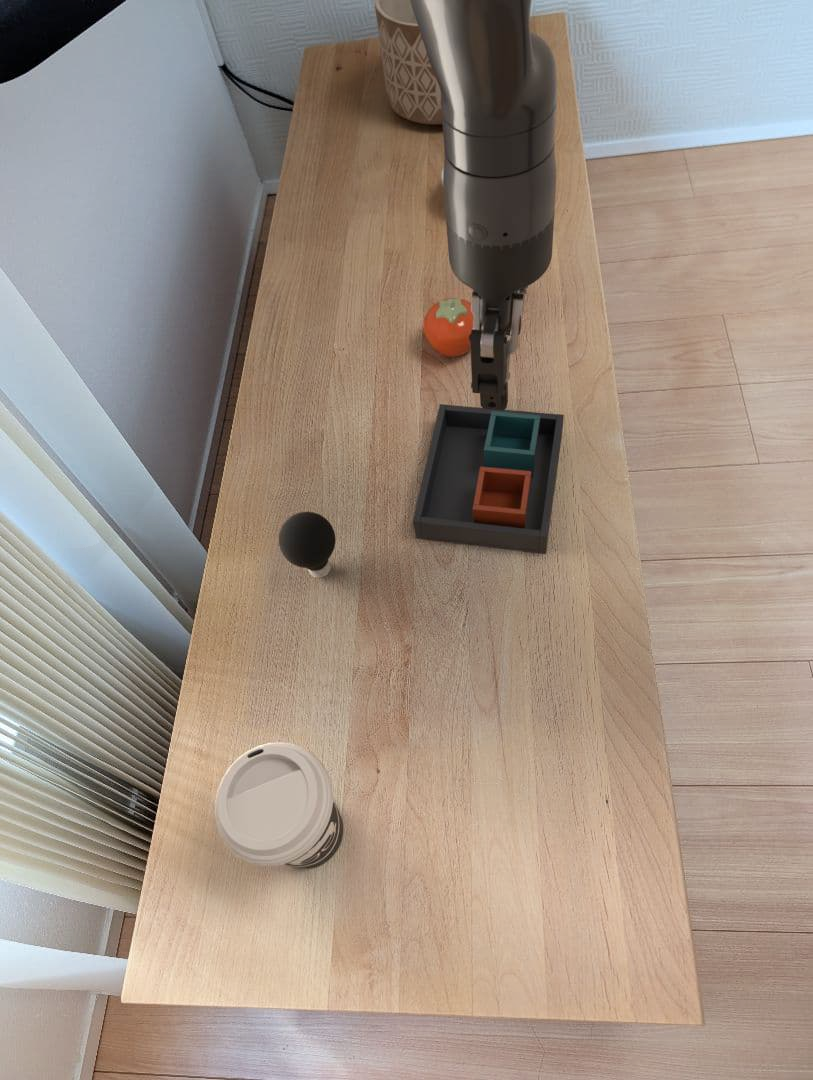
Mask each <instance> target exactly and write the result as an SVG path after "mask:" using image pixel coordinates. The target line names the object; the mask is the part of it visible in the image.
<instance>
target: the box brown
mask: <svg viewBox="0 0 813 1080" xmlns="http://www.w3.org/2000/svg"><path fill="white" fill-rule="evenodd" d="M530 491H531V471H523V470H512V469H501V468H490V467H480V471H479V476H478V482H477V488H476V493H475V499H474V505H473V520H474V523H481V524H489V525H498V526H507V527H515V528H524V529H526V522H527V515H528V508H529V500H530Z"/></svg>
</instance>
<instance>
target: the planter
mask: <svg viewBox="0 0 813 1080" xmlns="http://www.w3.org/2000/svg"><path fill="white" fill-rule="evenodd" d="M373 3H374V10H375V11H374V12H375V17H376V24H377V25H376V26H377V33H378V39H379V46H380V54H381V63H382V70H383V77H384V84H385V85H384V86H385V93H386V99H387V102H388V104H389V106H390V108H391V109H392V110H393V112H395V113H396V114H397V115H398V116H399V117H402V118H403V119H406V120H408V121H410V122H414V123H418V124H423V125H434V126H435V125H436V126H437V125H443V124H442V111H441V91H440V87H439V84H438V82H437V79H436V77H435V74H434V72H433V69H432V67H431V64H430V61H429V58H428V55H427V52H426V49H425V46H424V42H423V39H422V36H421V33H420V30H419V27H418V24H417V21H416V18H415V15H414V12H413V8H412V5H411V1H410V0H373Z"/></svg>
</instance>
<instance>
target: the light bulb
mask: <svg viewBox="0 0 813 1080" xmlns="http://www.w3.org/2000/svg"><path fill="white" fill-rule="evenodd" d="M278 534H279V535H278V546H279V550H280V552H281V555H283V557H284V558H285V559H286V561H288V562H289V563H290V564H292V565H294V566H296V567H299V568H303V569H305V568H306V569H307V571H308V573H309V575H311V576H312V577H313V578H317V579H319V578H323V577H325V576H327V575H328V574H329V573H330V570H331V563H330V560H329V559H330V557H331V556H332V554H333V553H334V550H335V548H336V532H335V530H334V528H333V525H332V523H331V522H330V521H329V520H328V519H327V518H326V517H324V516H323V515H321V514H319V513H317V512H313V511H302V512H297V513H295V514H292V515H291V516H289V518H287V519H286V520H285V521H284V523H283V525H282V526H281V528H280V531H279V533H278Z"/></svg>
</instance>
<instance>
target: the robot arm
mask: <svg viewBox="0 0 813 1080" xmlns="http://www.w3.org/2000/svg"><path fill="white" fill-rule="evenodd" d="M410 1H411V5H412V8H413V12H414V15H415V18H416V21H417V24H418V27H419V30H420V33H421V36H422V39H423V42H424V46H425V49H426V52H427V55H428V58H429V61H430V64H431V67H432V69H433V72H434V74H435V77H436V79H437V82H438V84H439V87H440V91H441V111H442V124H441V125H442V135H443V148H444V149H443V153H444V155H443V156H444V158H443V160H444V161H443V167H444V172H443V186H442V188H443V199H444V211H445V212H444V213H445V225H446V237H447V249H448V250H447V251H448V261H449V266H450V269H451V271H452V273H453V275H454V276H455V277H456V278H457V279H458V280H459V281H460V282H461V283H462V284H464V285H465V286H466V287H468V288H470V289H471V290H472V293H471V302H470V303H471V311H472V313H473V315H474V321H473V329H472V331H471V334H470V335H469V341H470V348H471V349H470V367H471V368H470V369H471V371H470V372H471V383H470V384H471V385H470V389H471V392H472V394H479V402H480V403H479V404H480V408H484V409H491V410H507V408H508V403H509V380H510V379H511V378H510V377H511V372H510V364H511V363H510V361H511V356H512V355H513V354H514V353H516V351H517V349H518V344H519V335H520V334H521V331H522V314H523V313H524V311H525V300H526V299H525V298H526V295H527V294H528V288H529V286H531V285H532V284H534V283H535V282H537V281H538V280H539V279H541V278H542V277H543V276H544V274H545V273H546V271H547V270H548V269H549V267H550V265H551V262H552V258H553V247H554V246H553V245H554V229H555V227H554V225H555V212H556V207H555V206H556V194H557V193H556V192H557V161H556V151H555V147H556V146H555V143H556V141H555V139H556V122H557V121H556V120H557V101H558V100H557V99H558V98H557V97H558V71H557V62H556V58H555V55H554V53H553V50H552V48H551V47H550V45H549V43H548V42H547V41H546V40H545V39H544V38H543V37H542V36H540V34H538V33H536V32H534V31H532V30H531V22H530V21H531V19H530V18H531V9H532V2H533V1H532V0H410ZM508 336H509V339H508Z"/></svg>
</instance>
